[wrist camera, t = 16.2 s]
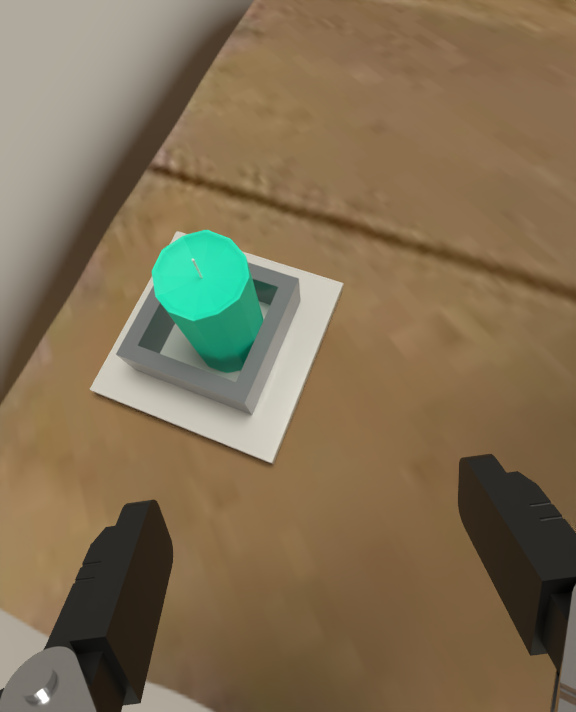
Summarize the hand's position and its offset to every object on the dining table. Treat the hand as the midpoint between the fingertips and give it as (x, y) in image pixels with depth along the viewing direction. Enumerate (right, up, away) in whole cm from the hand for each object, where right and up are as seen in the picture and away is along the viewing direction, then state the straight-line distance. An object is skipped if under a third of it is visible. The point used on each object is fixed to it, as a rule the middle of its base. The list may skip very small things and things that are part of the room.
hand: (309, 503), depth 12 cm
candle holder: (-6, +5, +26) cm, 27 cm away
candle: (-5, +5, +25) cm, 26 cm away
